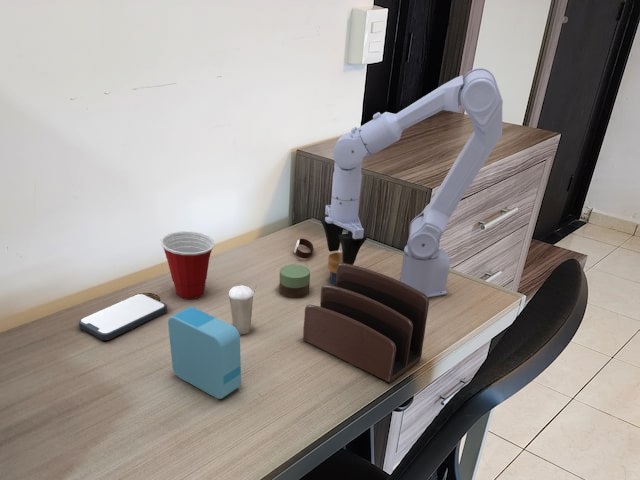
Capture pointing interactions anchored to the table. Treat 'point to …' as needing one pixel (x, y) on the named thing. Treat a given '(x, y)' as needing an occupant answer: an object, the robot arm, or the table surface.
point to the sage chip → (294, 276)
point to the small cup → (333, 278)
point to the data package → (205, 352)
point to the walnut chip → (294, 291)
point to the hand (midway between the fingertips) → (340, 257)
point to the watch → (305, 243)
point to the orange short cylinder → (334, 261)
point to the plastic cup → (188, 261)
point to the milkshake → (241, 308)
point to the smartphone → (122, 316)
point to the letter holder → (369, 321)
